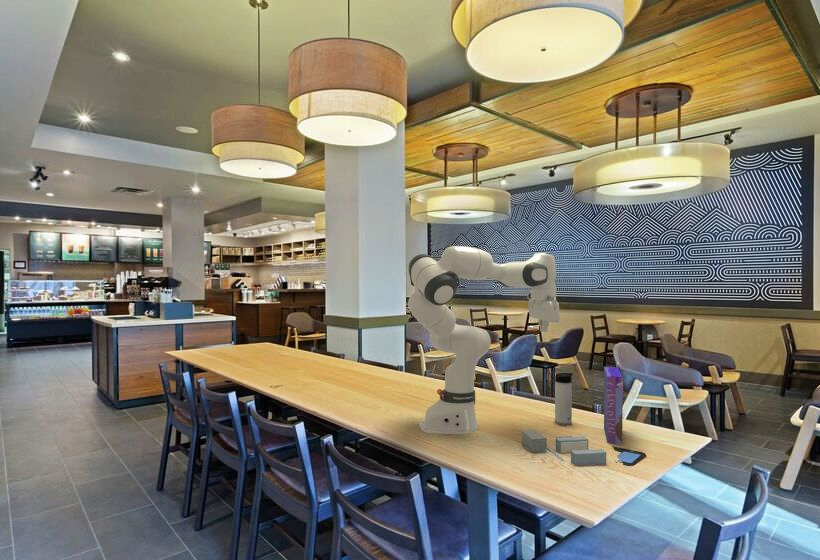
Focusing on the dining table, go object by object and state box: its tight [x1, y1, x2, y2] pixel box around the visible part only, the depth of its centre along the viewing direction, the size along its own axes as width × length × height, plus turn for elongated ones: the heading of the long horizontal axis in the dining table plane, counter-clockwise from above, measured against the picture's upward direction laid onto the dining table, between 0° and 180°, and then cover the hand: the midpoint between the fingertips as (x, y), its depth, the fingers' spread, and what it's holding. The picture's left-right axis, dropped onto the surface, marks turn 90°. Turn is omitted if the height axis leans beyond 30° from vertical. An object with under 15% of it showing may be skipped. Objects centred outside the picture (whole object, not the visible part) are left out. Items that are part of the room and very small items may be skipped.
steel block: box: [521, 429, 548, 454], centre depth 148 cm, size 5×8×6 cm, turn 10°
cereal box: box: [603, 365, 624, 445], centre depth 161 cm, size 17×5×24 cm, turn 160°
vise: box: [547, 447, 607, 466], centre depth 141 cm, size 12×14×5 cm
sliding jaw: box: [555, 435, 589, 454], centre depth 148 cm, size 10×7×5 cm
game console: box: [611, 445, 647, 467], centre depth 142 cm, size 14×13×2 cm
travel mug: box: [554, 372, 574, 426], centre depth 175 cm, size 6×7×20 cm
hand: (543, 331), depth 169 cm, fingers closed
